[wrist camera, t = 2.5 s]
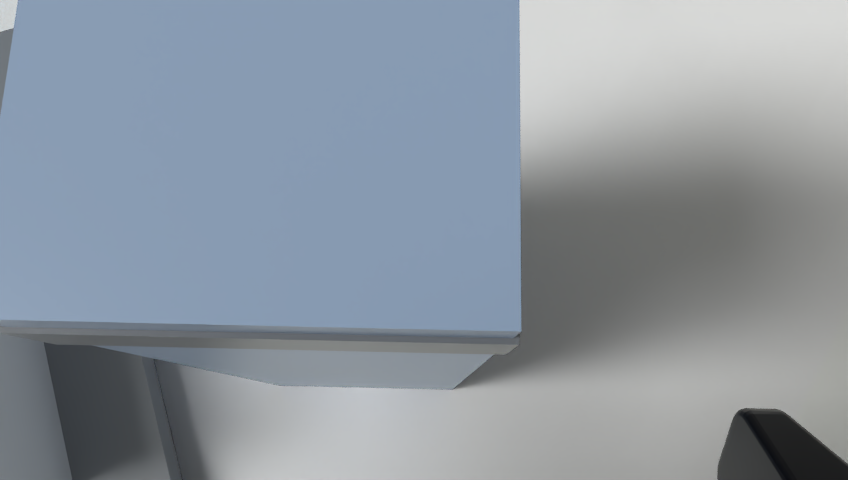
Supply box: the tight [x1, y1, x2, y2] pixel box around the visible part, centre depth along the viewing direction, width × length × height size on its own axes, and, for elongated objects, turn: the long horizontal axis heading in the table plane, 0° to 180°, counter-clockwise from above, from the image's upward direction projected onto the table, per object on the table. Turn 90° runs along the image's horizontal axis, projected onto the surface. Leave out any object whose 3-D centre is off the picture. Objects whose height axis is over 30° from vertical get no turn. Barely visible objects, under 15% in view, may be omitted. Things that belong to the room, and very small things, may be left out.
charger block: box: [0, 0, 521, 389], centre depth 12 cm, size 4×4×12 cm
